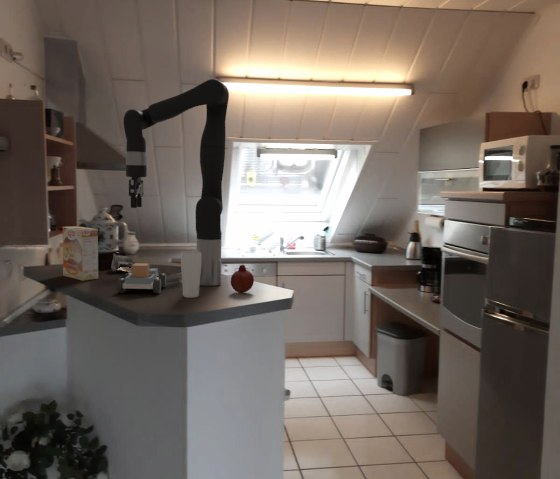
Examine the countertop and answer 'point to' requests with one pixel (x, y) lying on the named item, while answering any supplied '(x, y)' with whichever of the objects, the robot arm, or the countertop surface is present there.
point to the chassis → (142, 282)
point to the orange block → (141, 270)
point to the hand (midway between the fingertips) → (136, 207)
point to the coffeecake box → (80, 253)
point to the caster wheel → (121, 262)
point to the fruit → (242, 280)
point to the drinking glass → (191, 273)
